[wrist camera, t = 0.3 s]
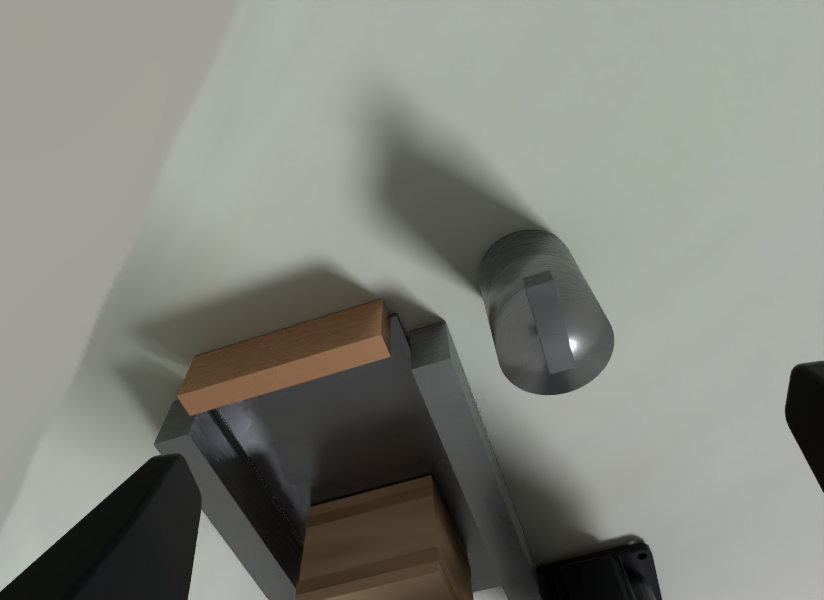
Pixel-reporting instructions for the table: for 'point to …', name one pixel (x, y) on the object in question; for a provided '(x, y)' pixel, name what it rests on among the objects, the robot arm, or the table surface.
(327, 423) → the bay
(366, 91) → the table surface
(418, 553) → the brown block
